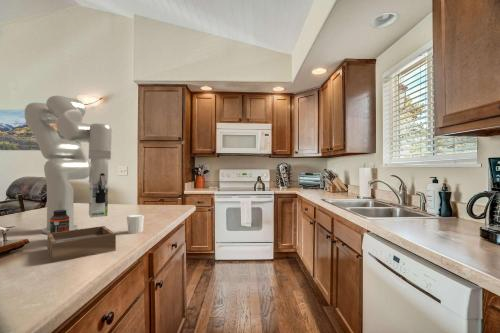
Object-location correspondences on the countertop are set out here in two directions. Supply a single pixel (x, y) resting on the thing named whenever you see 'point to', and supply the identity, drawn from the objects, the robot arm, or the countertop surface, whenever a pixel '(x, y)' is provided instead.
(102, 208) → the syrup box
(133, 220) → the white cup
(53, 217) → the supplement bottle
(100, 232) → the crate
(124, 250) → the countertop surface
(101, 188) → the robot arm
